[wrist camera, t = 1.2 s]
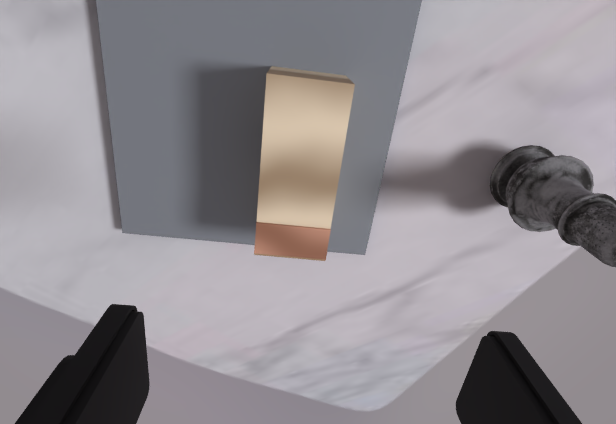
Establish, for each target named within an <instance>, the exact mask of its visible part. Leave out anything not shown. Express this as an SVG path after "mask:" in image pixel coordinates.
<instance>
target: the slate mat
mask: <svg viewBox="0 0 616 424" xmlns="http://www.w3.org/2000/svg"><path fill="white" fill-rule="evenodd" d="M421 2H422V0H96V6H97V15H98V23H99V32H100V41H101V50H102V58H103V67H104V76H105V85H106V94H107V102H108V111H109V120H110V129H111V137H112V146H113V155H114V164H115V172H116V181H117V190H118V199H119V207H120V216H121V225H122V233H128V234H139V235H151V236H162V237H173V238H184V239H195V240H206V241H217V242H228V243H239V244H250V245H255V235H256V222H257V208H258V193H259V178H260V163H261V148H262V134H263V119H264V104H265V89H266V75H267V72H268V71H269V69H270V68H271V67H272V66H275V67H283V68H291V69H299V70H306V71H314V72H322V73H330V74H338V75H346V76H347V77H348V78H349V79H350V80H351V81H352V82H353V83H354V84H355V87H354V93H353V99H352V105H351V111H350V116H349V122H348V128H347V134H346V140H345V146H344V152H343V158H342V164H341V170H340V176H339V182H338V188H337V194H336V199H335V205H334V211H333V217H332V223H331V231H330V237H329V243H328V249H327V252H338V253H349V254H360V255H365V253H366V248H367V244H368V239H369V235H370V230H371V226H372V221H373V217H374V212H375V208H376V203H377V199H378V194H379V190H380V185H381V181H382V176H383V172H384V168H385V163H386V159H387V154H388V150H389V145H390V141H391V136H392V132H393V127H394V123H395V118H396V114H397V109H398V105H399V100H400V96H401V91H402V87H403V82H404V78H405V73H406V69H407V65H408V60H409V56H410V51H411V47H412V42H413V38H414V33H415V29H416V24H417V20H418V15H419V11H420V6H421Z"/></svg>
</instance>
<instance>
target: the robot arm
mask: <svg viewBox="0 0 616 424" xmlns="http://www.w3.org/2000/svg"><path fill="white" fill-rule="evenodd" d="M148 392H149V373H148V361H147V350H146V338H145V327H144V316H143V313H142V312H137V308H136V306H131V305H117V304H112V305H110V306H109V307H108V309H107V310H106V312H105V313H104V314H103V316H102V317H101V319H100V320H99V322H98V323H97V324H96V326H95V327H94V329H93V330H92V332H91V333H90V334H89V336H88V337H87V339H86V340H85V342H84V343H83V345H82V346H81V347H80V349H79V350H78V352H77V353H76V354H75V355H70V356H69V355H68V356H67V357H65V358H63V360H62V361H61V362H60V363H59V364H58V365H57V367H56V368H55V370H54V371H53V372H52V374H51V375H50V376H49V378H48V379H47V380H46V382H45V383H44V384H43V386H42V387H41V389H40V390H39V391H38V393H37V394H36V396H35V397H34V398H33V399H32V401H31V402H30V404H29V405H28V406H27V408H26V409H25V411H24V412H23V413H22V414H21V416H20V417H19V419H18V420H17V421H16V423H15V424H136V423H137V420H138V418H139V415H140V413H141V411H142V408H143V406H144V403H145V401H146V399H147V396H148ZM456 411H457V415H458V417H459V420H460V422H461V424H582V423H581V422H580V420H579V419H578V418H577V416H576V415H575V413H574V412H573V411H572V410H571V408H570V407H569V405H568V404H567V403H566V402H565V400H564V399H563V398H562V396H561V395H560V394H559V392H558V391H557V389H556V388H555V387H554V386H553V384H552V383H551V381H550V380H549V379H548V378H547V376H546V375H545V373H544V372H543V371H542V369H541V368H540V367H539V366H538V364H537V363H536V362H535V360H534V359H533V357H532V356H531V355H530V353H529V352H528V351H527V349H526V348H525V347H524V345H523V344H522V343H521V341H520V340H519V339H518V338H517V336H516V335H515V334H513V333H511V332H498V331H491V332H489V333H488V334H487V336H484V337H482V339H481V341H480V344H479V346H478V349H477V351H476V354H475V356H474V359H473V361H472V364H471V366H470V368H469V371H468V374H467V376H466V378H465V381H464V383H463V386H462V388H461V391H460V393H459V396H458V398H457V401H456Z"/></svg>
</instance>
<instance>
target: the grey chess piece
mask: <svg viewBox="0 0 616 424" xmlns="http://www.w3.org/2000/svg"><path fill="white" fill-rule="evenodd" d="M593 186H594V183H593V175H592V173H591V171H590V168H589V167H588V166H587V165H586V164H585V163H584V162H583V161H581V160H579V159H577V158H574V157H571V156H562V155H561V156H554V154H552V153H551V152H550V151H549V150H548V149H545V148H543V147H541V146H525V147H521V148H518V149H516V150H513V151H512V152H510V153H509V154H507V155H506V156H505V157H504V158H503V159H502V160H501V161H500V162H499V163H498V164H497V166H496V167H495V169H494V170H493V173H492V176H491V180H490V189H491V193H492V195H493V197H494V198H495V200H496V201H498V202H499V203H500V204H501V205H503V206H506V207H508V208H509V213H510V216H511V217H512V219H513V221H514V222H515V223H516V224H518V225H519V226H520V227H521V228H524V229H527V230H529V231H537V232H542V231H549V230H553V229H558V233H559V235H560V237H561V239H562V240H564V241H565V242H566V243H568V244H571V245H576V246H582V247H583V248H584V249H586V250H587V251H588V252H589V253H591V254H592V255H593V256H595V257H596V258H597V259H599V260H600V261H601V262H603V263H604V264H607V265H609V266H612V267H616V200H614V199H613V198H612V197H611V196H608V195H606V194H599V193H597V194H594V193H592V190H593Z"/></svg>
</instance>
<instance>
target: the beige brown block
mask: <svg viewBox="0 0 616 424" xmlns="http://www.w3.org/2000/svg"><path fill="white" fill-rule="evenodd" d="M354 87H355V84H354V83H353V82H352V81H351V80H350V79H349V78H348V77H347V76H346V75H338V74H330V73H322V72H314V71H306V70H299V69H291V68H283V67H275V66H272V67H271V68H270V69H269V71H268V72H267V75H266V89H265V104H264V119H263V134H262V148H261V163H260V178H259V193H258V208H257V222H256V235H255V250H254V255H264V256H275V257H286V258H298V259H309V260H320V261H325V260H326V255H327V249H328V243H329V237H330V231H331V223H332V217H333V211H334V205H335V199H336V194H337V188H338V182H339V176H340V170H341V164H342V158H343V152H344V146H345V140H346V134H347V128H348V122H349V116H350V111H351V105H352V99H353V93H354Z"/></svg>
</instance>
